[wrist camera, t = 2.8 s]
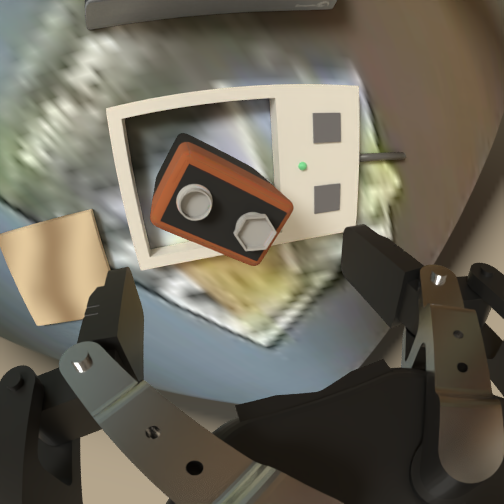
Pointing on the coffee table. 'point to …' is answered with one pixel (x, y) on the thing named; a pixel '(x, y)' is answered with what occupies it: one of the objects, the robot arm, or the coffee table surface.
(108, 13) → the external hard drive
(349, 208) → the charging dock
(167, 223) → the battery
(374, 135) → the coffee table surface
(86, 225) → the cork pad
